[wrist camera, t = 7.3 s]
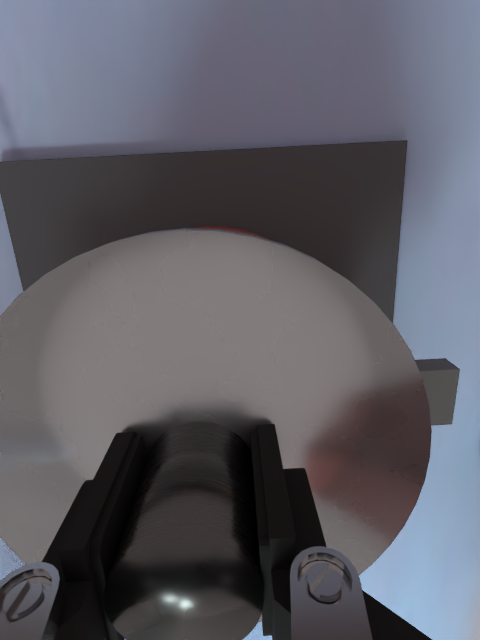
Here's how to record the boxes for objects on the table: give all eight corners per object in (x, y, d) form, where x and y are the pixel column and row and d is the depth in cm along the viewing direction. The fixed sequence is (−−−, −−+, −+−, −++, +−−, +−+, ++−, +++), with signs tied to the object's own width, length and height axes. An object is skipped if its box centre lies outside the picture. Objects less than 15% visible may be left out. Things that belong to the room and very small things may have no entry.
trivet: (376, 472, 25) (379, 478, 24) (75, 489, 25) (72, 496, 24) (401, 142, 18) (407, 140, 18) (0, 163, 18) (-8, 162, 18)
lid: (395, 590, 14) (477, 784, 10) (33, 608, 14) (-65, 812, 10) (440, 217, 10) (628, 230, 5) (-75, 238, 10) (-353, 272, 5)
